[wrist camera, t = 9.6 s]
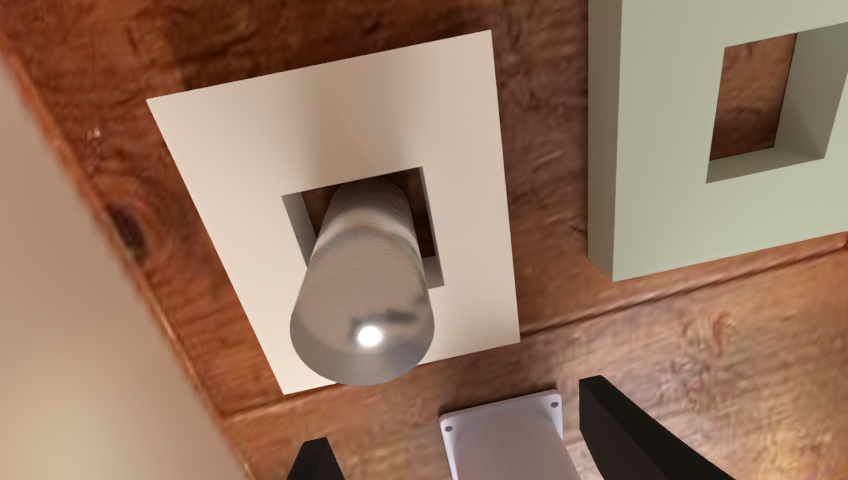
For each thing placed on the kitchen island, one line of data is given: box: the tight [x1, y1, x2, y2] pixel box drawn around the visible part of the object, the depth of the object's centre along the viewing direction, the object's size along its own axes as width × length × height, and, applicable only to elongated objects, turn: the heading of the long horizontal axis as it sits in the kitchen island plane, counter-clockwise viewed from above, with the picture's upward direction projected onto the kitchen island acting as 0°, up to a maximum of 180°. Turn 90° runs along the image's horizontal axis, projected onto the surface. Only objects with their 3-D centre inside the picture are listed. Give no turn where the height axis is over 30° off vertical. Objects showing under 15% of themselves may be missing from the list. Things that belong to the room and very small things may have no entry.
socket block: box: [588, 0, 848, 282], centre depth 18 cm, size 14×14×2 cm
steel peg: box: [290, 176, 435, 386], centre depth 15 cm, size 4×4×9 cm
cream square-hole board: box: [146, 30, 520, 395], centre depth 18 cm, size 14×12×3 cm
